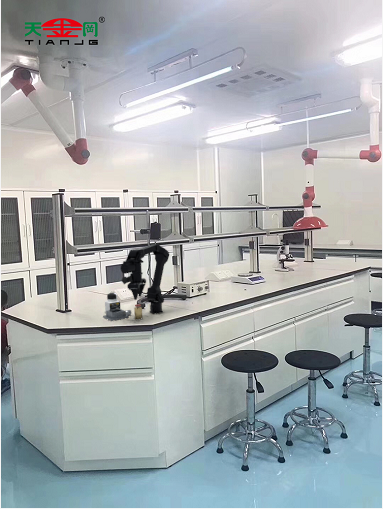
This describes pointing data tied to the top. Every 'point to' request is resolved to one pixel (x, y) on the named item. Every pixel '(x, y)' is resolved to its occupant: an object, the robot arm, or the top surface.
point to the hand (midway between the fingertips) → (137, 298)
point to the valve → (138, 311)
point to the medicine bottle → (112, 302)
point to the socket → (117, 314)
